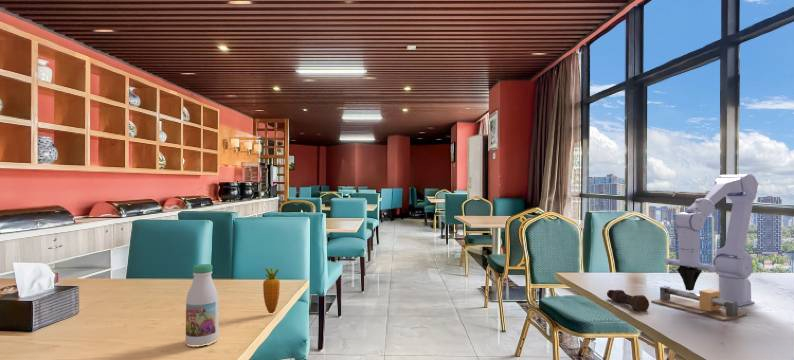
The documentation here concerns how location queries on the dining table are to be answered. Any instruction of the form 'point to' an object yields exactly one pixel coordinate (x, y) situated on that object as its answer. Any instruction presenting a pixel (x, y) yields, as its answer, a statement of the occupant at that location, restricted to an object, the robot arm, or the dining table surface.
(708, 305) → the collar
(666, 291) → the rail
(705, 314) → the board
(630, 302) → the bolt
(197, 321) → the milk bottle
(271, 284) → the carrot
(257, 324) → the dining table surface
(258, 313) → the dining table surface
